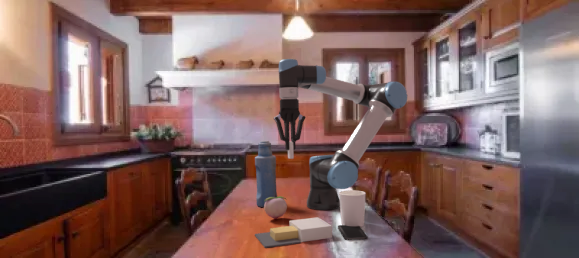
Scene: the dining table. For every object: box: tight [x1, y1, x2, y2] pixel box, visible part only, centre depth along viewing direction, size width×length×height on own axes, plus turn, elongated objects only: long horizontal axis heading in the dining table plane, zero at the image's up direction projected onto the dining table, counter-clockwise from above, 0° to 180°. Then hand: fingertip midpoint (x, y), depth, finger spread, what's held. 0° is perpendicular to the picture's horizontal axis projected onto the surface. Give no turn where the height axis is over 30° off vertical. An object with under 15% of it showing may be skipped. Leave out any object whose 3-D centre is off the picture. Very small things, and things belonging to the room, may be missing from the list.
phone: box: [337, 224, 368, 241], centre depth 133 cm, size 8×1×15 cm
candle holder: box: [338, 189, 367, 228], centre depth 143 cm, size 10×10×12 cm
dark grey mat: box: [254, 231, 302, 249], centre depth 129 cm, size 12×14×1 cm
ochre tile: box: [269, 225, 298, 241], centre depth 130 cm, size 8×6×2 cm
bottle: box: [254, 140, 278, 208], centre depth 179 cm, size 10×10×30 cm
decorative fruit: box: [263, 194, 288, 220], centre depth 154 cm, size 9×8×10 cm
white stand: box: [289, 217, 333, 243], centre depth 133 cm, size 11×12×4 cm
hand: (290, 158), depth 153 cm, fingers closed
